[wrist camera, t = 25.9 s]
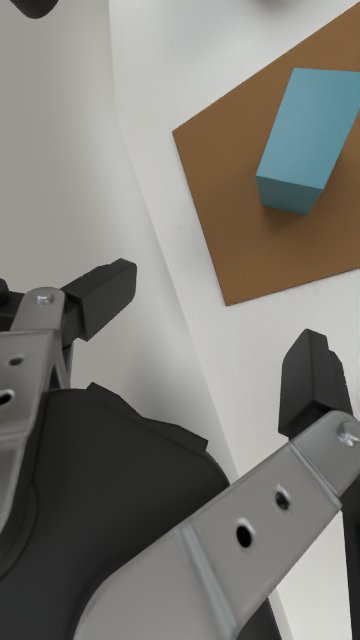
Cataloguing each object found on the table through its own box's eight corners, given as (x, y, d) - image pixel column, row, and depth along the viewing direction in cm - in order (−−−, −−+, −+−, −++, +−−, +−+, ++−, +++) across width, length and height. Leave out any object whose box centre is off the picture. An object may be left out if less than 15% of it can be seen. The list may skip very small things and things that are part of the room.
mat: (173, 133, 25) (171, 131, 25) (406, -27, 17) (409, -34, 16) (226, 305, 27) (226, 306, 26) (462, 237, 19) (465, 236, 18)
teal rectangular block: (260, 205, 23) (255, 175, 16) (286, 136, 21) (293, 67, 14) (306, 216, 22) (323, 190, 15) (338, 144, 20) (376, 72, 13)
